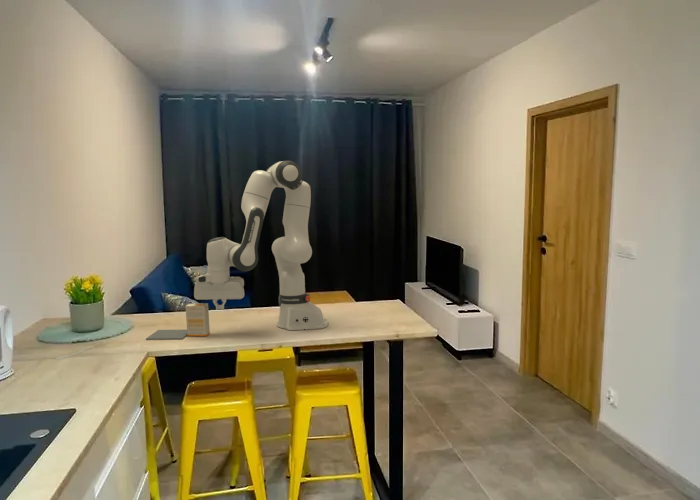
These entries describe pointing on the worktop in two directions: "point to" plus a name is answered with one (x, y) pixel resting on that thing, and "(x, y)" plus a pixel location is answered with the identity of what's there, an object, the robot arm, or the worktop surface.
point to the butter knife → (68, 355)
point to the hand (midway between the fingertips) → (220, 309)
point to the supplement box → (197, 319)
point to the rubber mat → (168, 335)
